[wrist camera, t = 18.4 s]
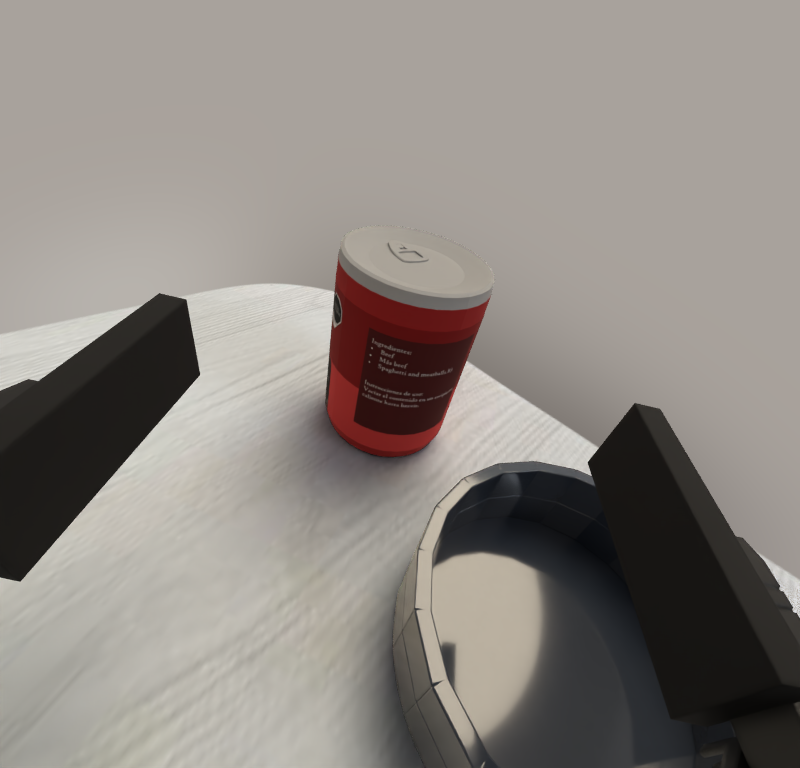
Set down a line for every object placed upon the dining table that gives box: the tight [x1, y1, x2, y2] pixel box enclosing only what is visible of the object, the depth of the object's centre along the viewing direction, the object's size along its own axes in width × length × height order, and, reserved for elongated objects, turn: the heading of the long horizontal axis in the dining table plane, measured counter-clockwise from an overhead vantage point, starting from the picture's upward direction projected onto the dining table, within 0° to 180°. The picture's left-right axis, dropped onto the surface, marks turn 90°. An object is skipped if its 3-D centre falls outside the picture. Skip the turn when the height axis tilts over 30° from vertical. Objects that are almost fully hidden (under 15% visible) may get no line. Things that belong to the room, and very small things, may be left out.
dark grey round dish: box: [392, 461, 737, 768], centre depth 15 cm, size 13×13×4 cm
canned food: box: [325, 226, 495, 457], centre depth 22 cm, size 8×8×11 cm
